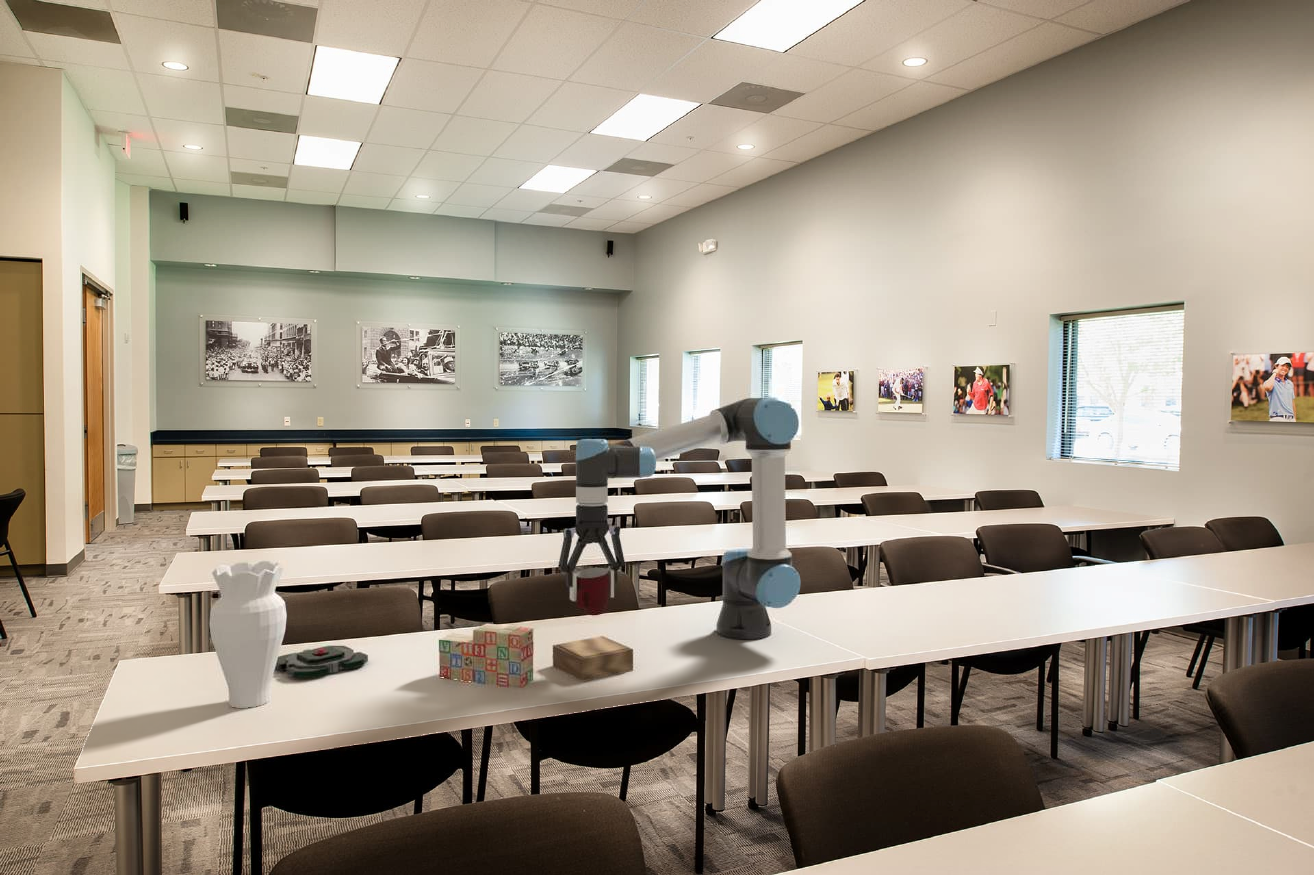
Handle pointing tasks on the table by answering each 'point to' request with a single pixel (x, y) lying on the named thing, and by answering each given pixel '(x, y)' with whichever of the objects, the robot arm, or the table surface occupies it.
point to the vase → (248, 629)
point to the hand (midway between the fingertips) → (591, 598)
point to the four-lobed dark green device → (320, 661)
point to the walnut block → (592, 658)
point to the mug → (592, 590)
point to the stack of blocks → (489, 656)
